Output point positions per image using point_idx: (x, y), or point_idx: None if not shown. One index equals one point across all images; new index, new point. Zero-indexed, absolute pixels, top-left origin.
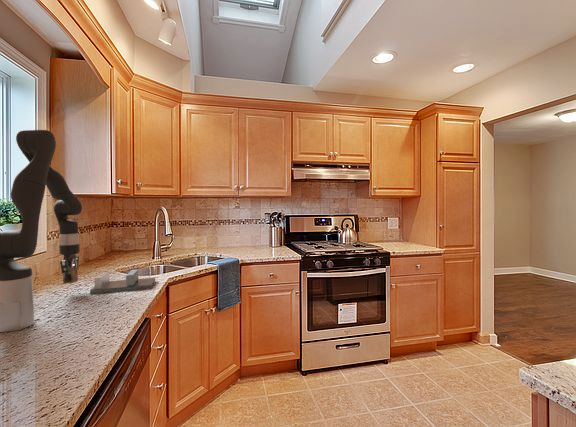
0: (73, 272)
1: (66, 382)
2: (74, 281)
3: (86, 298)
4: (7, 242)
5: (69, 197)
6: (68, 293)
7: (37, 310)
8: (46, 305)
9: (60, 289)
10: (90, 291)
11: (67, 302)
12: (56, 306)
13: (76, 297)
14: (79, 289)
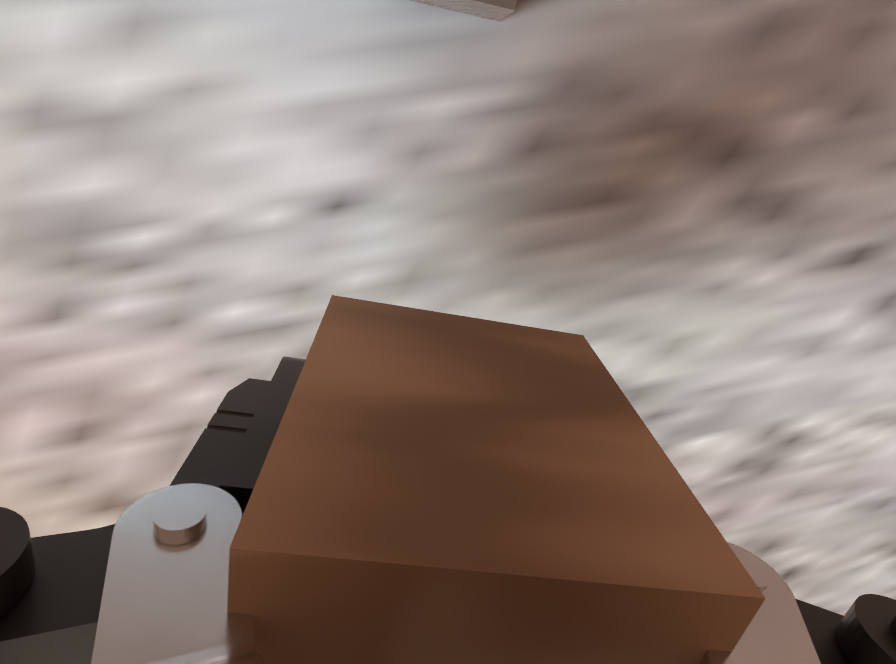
0: (669, 494)
1: None
2: (537, 334)
3: (706, 57)
4: None
5: None
6: (281, 352)
7: (818, 477)
8: (699, 450)
9: (20, 484)
10: (507, 12)
11: (733, 278)
12: (813, 355)
13: (557, 213)
14: (85, 251)
